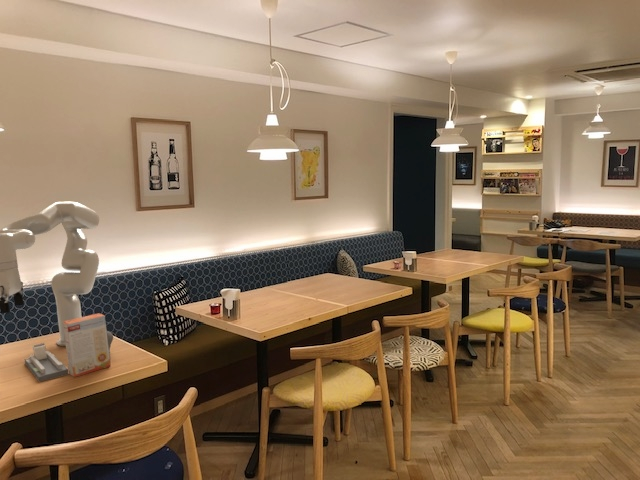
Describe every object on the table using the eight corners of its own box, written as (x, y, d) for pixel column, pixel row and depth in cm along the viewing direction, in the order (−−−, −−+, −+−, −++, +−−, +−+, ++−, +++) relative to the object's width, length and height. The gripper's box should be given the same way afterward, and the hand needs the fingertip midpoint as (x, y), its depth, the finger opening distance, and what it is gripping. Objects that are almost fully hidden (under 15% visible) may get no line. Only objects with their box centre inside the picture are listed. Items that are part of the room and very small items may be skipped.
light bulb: (96, 356, 217) (93, 333, 216) (104, 351, 223) (102, 328, 222) (109, 357, 216) (107, 333, 215) (117, 351, 222) (115, 329, 221)
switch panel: (52, 357, 218) (51, 348, 218) (68, 374, 200) (67, 364, 200) (25, 364, 212) (24, 354, 211) (39, 381, 194) (38, 372, 193)
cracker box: (105, 363, 210) (99, 312, 207) (111, 367, 206) (105, 315, 203) (68, 373, 201) (62, 320, 198) (73, 377, 197) (67, 323, 193)
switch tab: (44, 355, 214) (42, 341, 214) (47, 358, 211) (45, 344, 211) (34, 358, 212) (32, 344, 211) (36, 360, 209) (34, 346, 208)
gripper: (8, 261, 209) (14, 302, 212) (-18, 271, 192) (-11, 316, 195) (28, 260, 209) (33, 301, 212) (3, 270, 192) (10, 315, 195)
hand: (12, 308), depth 203 cm, fingers open, 9 cm apart
